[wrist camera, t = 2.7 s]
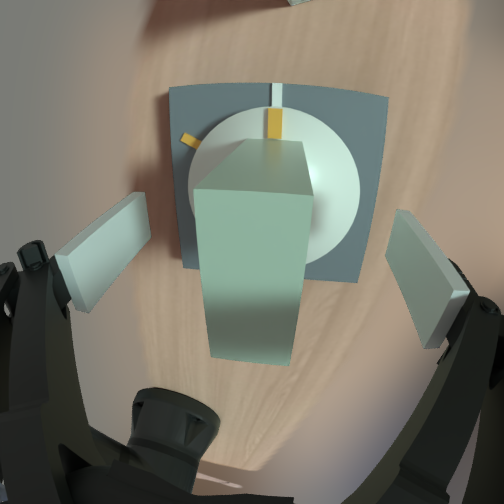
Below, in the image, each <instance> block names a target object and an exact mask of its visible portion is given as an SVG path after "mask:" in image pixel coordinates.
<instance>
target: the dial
mask: <svg viewBox="0 0 504 504" xmlns="http://www.w3.org/2000/svg"><path fill="white" fill-rule="evenodd" d="M188 194H189V201H190V205H191V209H192V212H193V214H194V217H195V221H196V233H197V244H198V255H199V265H200V275H201V284H202V293H203V301H204V309H205V317H206V325H207V333H208V340H209V347H210V354H211V357H214V358H221V359H228V360H235V361H243V362H252V363H261V364H271V365H282V366H289V364H290V359H291V354H292V348H293V342H294V337H295V331H296V325H297V319H298V313H299V307H300V300H301V294H302V287H303V280H304V273H305V266H306V264H308V263H310V262H312V261H315V260H317V259H319V258H320V257H322V256H324V255H325V254H327V253H328V252H329V251H331V250H332V249H333V248H334V247H335V246H336V245H337V244H338V243H339V242H340V241H341V240H342V239H343V238H344V236H345V235H346V234H347V232H348V231H349V229H350V227H351V225H352V223H353V221H354V219H355V216H356V213H357V209H358V205H359V198H360V181H359V176H358V171H357V168H356V165H355V162H354V159H353V157H352V155H351V153H350V151H349V149H348V148H347V146H346V145H345V144H344V142H343V141H342V139H341V138H340V137H339V136H338V135H337V134H336V133H335V132H334V131H333V130H332V129H331V128H329V127H328V126H327V125H326V124H324V123H323V122H322V121H320V120H318V119H317V118H315V117H313V116H312V115H309V114H307V113H304V112H302V111H299V110H295V109H292V108H287V107H278V106H269V107H259V108H253V109H249V110H246V111H243V112H240V113H237V114H235V115H233V116H231V117H229V118H227V119H226V120H224V121H223V122H221V123H220V124H218V125H217V126H216V127H215V128H214V129H213V130H212V131H210V132H209V134H208V135H207V136H206V137H205V138H204V140H203V141H202V142H201V144H200V146H199V147H198V149H197V150H196V153H195V155H194V157H193V160H192V163H191V166H190V170H189V177H188Z"/></svg>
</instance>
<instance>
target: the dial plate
mask: <svg viewBox="0 0 504 504" xmlns="http://www.w3.org/2000/svg"><path fill="white" fill-rule="evenodd" d="M388 99H389V97H384V96H379V95H374V94H369V93H363V92H357V91H351V90H344V89H337V88H329V87H320V86H309V85H297V84H282V83H218V84H200V85H188V86H178V87H169V107H170V133H171V151H172V166H173V179H174V191H175V201H176V211H177V221H178V230H179V238H180V246H181V254H182V262H183V268H189V269H199V270H200V265H199V255H198V244H197V233H196V221H195V217H194V214H193V212H192V209H191V205H190V201H189V194H188V177H189V170H190V166H191V163H192V160H193V157H194V155H195V153H196V150H197V149H198V147H199V146H200V144H201V142H202V141H203V140H204V138H205V137H206V136H207V135H208V134H209V132H210V131H212V130H213V129H214V128H215V127H216V126H217V125H218V124H220V123H221V122H223V121H224V120H226V119H227V118H229V117H231V116H233V115H235V114H237V113H240V112H243V111H246V110H249V109H253V108H259V107H269V106H278V107H287V108H292V109H295V110H299V111H302V112H304V113H307V114H309V115H312V116H313V117H315V118H317V119H318V120H320V121H322V122H323V123H324V124H326V125H327V126H328V127H329V128H331V129H332V130H333V131H334V132H335V133H336V134H337V135H338V136H339V137H340V138H341V139H342V141H343V142H344V144H345V145H346V146H347V148H348V149H349V151H350V153H351V155H352V157H353V159H354V162H355V165H356V168H357V171H358V176H359V181H360V198H359V205H358V209H357V213H356V216H355V219H354V221H353V223H352V225H351V227H350V229H349V231H348V232H347V234H346V235H345V236H344V238H343V239H342V240H341V241H340V242H339V243H338V244H337V245H336V246H335V247H334V248H333V249H332V250H331V251H329V252H328V253H327V254H325V255H324V256H322V257H320V258H319V259H317V260H315V261H312V262H310V263H308V264H306V266H305V273H304V279H310V280H323V281H337V282H351V283H357V282H358V278H359V274H360V270H361V266H362V262H363V258H364V254H365V250H366V245H367V241H368V237H369V232H370V227H371V222H372V218H373V212H374V207H375V202H376V196H377V191H378V185H379V178H380V172H381V165H382V158H383V150H384V142H385V133H386V123H387V112H388Z"/></svg>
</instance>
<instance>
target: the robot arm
mask: <svg viewBox="0 0 504 504" xmlns="http://www.w3.org/2000/svg"><path fill="white" fill-rule="evenodd" d="M150 238H151V231H150V225H149V218H148V211H147V204H146V197H145V192H132V193H131V194H130V195H128V196H127V197H125V198H124V199H123V200H121V201H120V202H119V203H117V204H116V205H114V206H113V207H112V208H110V209H109V210H108V211H106V212H105V213H104V214H102V215H101V216H100V217H99V218H97V219H96V220H95V221H94V222H92V223H91V224H90V225H88V226H87V227H86V228H85V229H83V231H81V232H80V233H79V234H77V235H76V236H75V237H74V238H73V239H71V240H70V241H69V242H68V243H67V244H66V245H65V246H63V247H62V248H61V249H60V250H59V251H57V252H56V253H55V254H54V256H52V257H51V258H50V259H49V258H48V255H47V253H46V250H45V246H44V243H43V241H41V240H36V241H32V242H29V243H27V244H26V245H24V246H22V247H21V248H20V249H19V250H18V252H17V254H18V257H19V260H20V262H21V265H22V268H23V271H21V272H17V270H16V267H15V265H14V263H13V262H7V263H3V264H1V265H0V504H294V503H293V500H294V497H277V496H264V495H254V494H235V495H215V496H214V495H213V496H197V495H193V494H192V490H193V485H194V482H195V478H196V474H197V469H198V466H199V462H200V459H201V457H202V456H203V454H204V453H205V452H206V450H207V449H208V447H209V446H210V444H211V443H212V442H213V440H214V439H215V437H216V436H217V434H218V431H219V426H220V419H219V417H218V415H217V414H216V413H215V412H214V411H213V410H211V409H210V408H208V407H207V406H205V405H204V404H202V403H200V402H198V401H196V400H194V399H192V398H189V397H187V396H184V395H181V394H179V393H175V392H172V391H168V390H163V389H156V388H146V389H142V390H140V391H138V393H137V395H136V397H135V399H134V401H133V406H132V428H131V436H130V439H129V441H128V444H127V446H125V445H123V444H121V443H119V442H117V441H115V440H114V439H112V438H110V437H108V436H106V435H105V434H103V433H101V432H99V431H98V430H96V429H94V428H93V427H91V426H90V425H89V424H88V420H87V416H86V412H85V408H84V404H83V399H82V395H81V390H80V385H79V380H78V374H77V368H76V362H75V355H74V349H73V341H72V331H71V321H70V311H69V308H68V306H67V303H68V302H69V301H70V300H71V299H72V302H73V304H74V306H75V309H76V310H78V311H82V312H86V313H89V312H90V311H91V310H92V309H93V307H94V306H95V305H96V303H97V302H98V301H99V300H100V298H101V297H102V296H103V294H104V293H105V292H106V291H107V289H108V288H109V287H110V286H111V284H112V283H113V282H114V281H115V279H116V278H117V277H118V276H119V275H120V273H121V272H122V271H123V270H124V268H125V267H126V266H127V265H128V264H129V263H130V261H131V260H132V259H133V258H134V257H135V256H136V254H137V253H138V252H139V251H140V250H141V249H142V247H143V246H144V245H145V244H146V243H147V242H148V241H149V239H150ZM385 257H386V259H387V261H388V263H389V265H390V267H391V270H392V272H393V274H394V276H395V278H396V281H397V283H398V285H399V287H400V290H401V292H402V294H403V297H404V299H405V301H406V304H407V307H408V309H409V312H410V314H411V316H412V319H413V322H414V324H415V327H416V330H417V332H418V335H419V338H420V341H421V343H422V346H423V348H424V349H430V348H439V347H440V346H441V344H442V343H443V341H444V339H445V337H446V338H447V340H448V342H449V345H448V347H447V349H446V350H445V352H444V353H443V355H442V356H441V358H440V359H439V361H438V362H437V364H438V367H437V369H436V371H435V374H434V375H433V377H432V379H431V381H430V383H429V385H428V387H427V389H426V391H425V392H424V394H423V396H422V398H421V400H420V401H419V403H418V405H417V407H416V408H415V410H414V412H413V414H412V415H411V417H410V418H409V420H408V422H407V423H406V425H405V426H404V428H403V430H402V431H401V432H400V434H399V435H398V437H397V438H396V440H395V441H394V443H393V444H392V445H391V447H390V448H389V450H388V451H387V452H386V454H385V455H384V457H383V458H382V459H381V461H380V462H379V463H378V464H377V466H376V467H375V468H374V469H373V471H372V472H371V473H370V475H369V476H368V477H367V478H366V479H365V481H364V482H363V483H362V484H361V485H360V486H359V487H358V488H357V490H356V491H355V492H354V493H353V494H352V495H350V496H349V497H348V498H347V499H345V500H344V501H343V502H342V503H341V504H448V503H449V499H450V496H449V495H448V494H447V492H446V488H447V486H448V484H449V482H450V480H451V478H452V476H453V474H454V472H455V470H456V468H457V466H458V464H459V462H460V460H461V458H462V456H463V453H464V451H465V449H466V447H467V444H468V442H469V439H470V437H471V434H472V432H473V429H474V426H475V424H476V421H477V418H478V415H479V413H480V410H481V413H480V423H479V430H478V437H477V443H476V449H475V454H474V459H473V464H472V468H471V472H470V476H469V480H468V485H467V488H466V492H465V495H464V498H463V501H462V504H504V315H501V311H500V309H499V307H498V306H497V305H496V304H495V303H494V302H493V301H492V300H490V299H488V298H486V297H481V296H478V294H477V293H476V291H475V290H474V288H473V287H472V285H471V284H470V282H469V281H468V280H467V278H466V277H465V275H464V274H462V271H461V270H460V268H459V267H458V266H457V265H456V264H455V263H454V262H453V261H451V260H450V259H448V258H447V257H446V256H445V254H444V253H443V252H442V250H441V249H440V248H439V246H438V245H437V244H436V242H435V241H434V240H433V239H432V237H431V236H430V235H429V234H428V233H427V231H426V230H425V229H424V227H423V226H422V225H421V224H420V223H419V221H418V220H417V219H416V218H415V217H414V216H413V214H412V213H411V212H410V211H407V210H400V209H397V210H396V214H395V219H394V223H393V227H392V231H391V235H390V239H389V243H388V247H387V251H386V254H385ZM4 303H5V304H6V306H7V308H8V310H9V312H10V314H9V316H7V315H6V313H5V311H4ZM3 480H4V485H3V484H2V481H3ZM2 501H4V502H2Z"/></svg>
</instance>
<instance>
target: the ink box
mask: <svg viewBox="0 0 504 504" xmlns="http://www.w3.org/2000/svg"><path fill="white" fill-rule="evenodd" d="M307 1H311V0H288V2H289V4H290V5H291V6H293V5H296V4H300V3H303V2H307Z"/></svg>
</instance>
